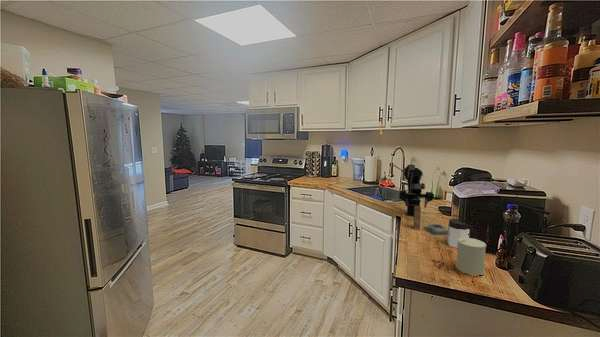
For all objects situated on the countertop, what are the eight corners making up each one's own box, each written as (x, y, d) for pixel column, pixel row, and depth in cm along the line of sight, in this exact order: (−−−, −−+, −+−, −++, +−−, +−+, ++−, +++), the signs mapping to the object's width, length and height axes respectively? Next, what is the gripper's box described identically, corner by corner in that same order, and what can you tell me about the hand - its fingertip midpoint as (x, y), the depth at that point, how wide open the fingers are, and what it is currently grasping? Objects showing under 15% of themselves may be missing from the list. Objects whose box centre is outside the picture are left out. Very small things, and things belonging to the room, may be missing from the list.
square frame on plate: (423, 228, 143) (423, 223, 142) (440, 228, 143) (441, 223, 142) (432, 234, 133) (432, 229, 132) (451, 234, 133) (451, 229, 132)
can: (452, 263, 102) (454, 235, 101) (478, 266, 100) (481, 237, 98) (459, 274, 94) (461, 244, 92) (488, 278, 91) (490, 247, 89)
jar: (471, 246, 118) (472, 221, 117) (465, 251, 113) (466, 225, 112) (450, 240, 125) (451, 217, 124) (444, 244, 120) (445, 221, 119)
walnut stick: (413, 227, 144) (414, 206, 143) (419, 228, 143) (420, 206, 142) (414, 229, 141) (415, 207, 140) (419, 230, 140) (420, 207, 139)
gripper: (399, 177, 152) (400, 199, 142) (434, 178, 146) (436, 201, 136) (398, 188, 160) (399, 209, 151) (431, 189, 154) (433, 211, 145)
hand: (416, 207), depth 145 cm, fingers open, 9 cm apart
